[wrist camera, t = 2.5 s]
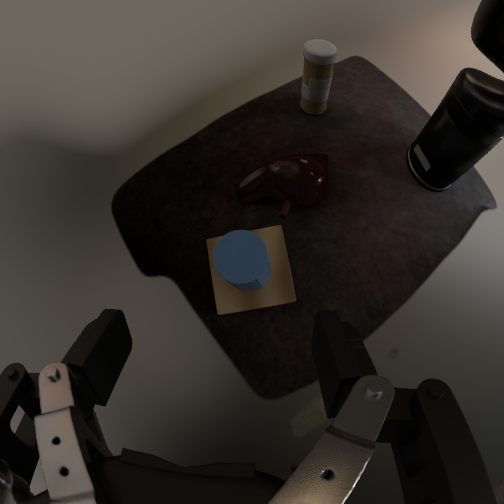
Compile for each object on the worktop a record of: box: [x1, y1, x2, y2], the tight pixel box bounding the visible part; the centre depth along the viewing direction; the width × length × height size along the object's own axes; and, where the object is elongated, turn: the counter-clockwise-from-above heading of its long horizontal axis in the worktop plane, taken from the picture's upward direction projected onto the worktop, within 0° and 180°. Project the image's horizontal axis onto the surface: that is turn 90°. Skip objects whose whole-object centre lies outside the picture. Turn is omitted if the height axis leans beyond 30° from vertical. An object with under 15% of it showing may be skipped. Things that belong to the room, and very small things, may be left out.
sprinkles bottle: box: [300, 39, 337, 115], centre depth 34 cm, size 5×5×13 cm
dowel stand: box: [207, 225, 296, 315], centre depth 31 cm, size 10×10×9 cm
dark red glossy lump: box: [236, 154, 328, 219], centre depth 36 cm, size 6×12×11 cm
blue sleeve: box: [213, 230, 271, 291], centre depth 30 cm, size 5×5×9 cm
